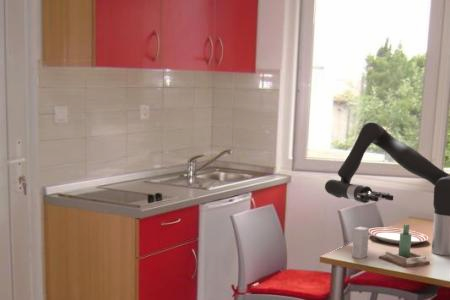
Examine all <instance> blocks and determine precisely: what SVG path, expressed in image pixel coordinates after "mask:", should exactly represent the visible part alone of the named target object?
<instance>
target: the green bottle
mask: <svg viewBox="0 0 450 300" xmlns="http://www.w3.org/2000/svg"><path fill="white" fill-rule="evenodd" d="M402 229H403V233H401V234H400V242H399V244H398V245H399V247H398V254H399V256H402V257H405V258H410V252H411V245H412V244H411V234H409V230H410V224H407V223H404V224H403V228H402Z"/></svg>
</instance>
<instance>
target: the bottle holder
mask: <svg viewBox="0 0 450 300" xmlns="http://www.w3.org/2000/svg"><path fill="white" fill-rule="evenodd" d="M378 259H380V260H383V261H386V262H388V263H391V264H392V265H397V266H399V267H402V268H410V267H419V266H424V265H425V266H426V265H430V263H431V261H429V260H427V256H424V255H421V254H418V253H416V252H415V253H414V252H412V251H410V258H405V257H402V256H399V253H392V252H390V251H386V252H385V255H384V254H383V255H378Z"/></svg>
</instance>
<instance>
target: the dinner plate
mask: <svg viewBox="0 0 450 300" xmlns="http://www.w3.org/2000/svg"><path fill="white" fill-rule="evenodd" d="M401 233H403V228H395V227H382V226H381V227H372V228H369V234H370V236H371V237H372V236H373V237H374V238H376V239H379V240H380V241H381V242H385V243H390V244H396V245H399V242H400V234H401ZM409 234H411V245H415V244H419V243H423V242H426V241H428V240H429V237H428V235H426V234H424V233H422V232H418V231H414V230H410V229H409Z"/></svg>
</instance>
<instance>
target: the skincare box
mask: <svg viewBox="0 0 450 300" xmlns="http://www.w3.org/2000/svg"><path fill="white" fill-rule="evenodd" d="M369 229H370V228H369V227H365V226H358V227H354V228H353V231H352V233H353V235H352V246H351V247H352V249H351V250H352V251H351V257H352V258H355V259H360V260H361V259H363V258H365V257H368V248H369V247H368V246H369V234H370V233H369Z"/></svg>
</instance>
